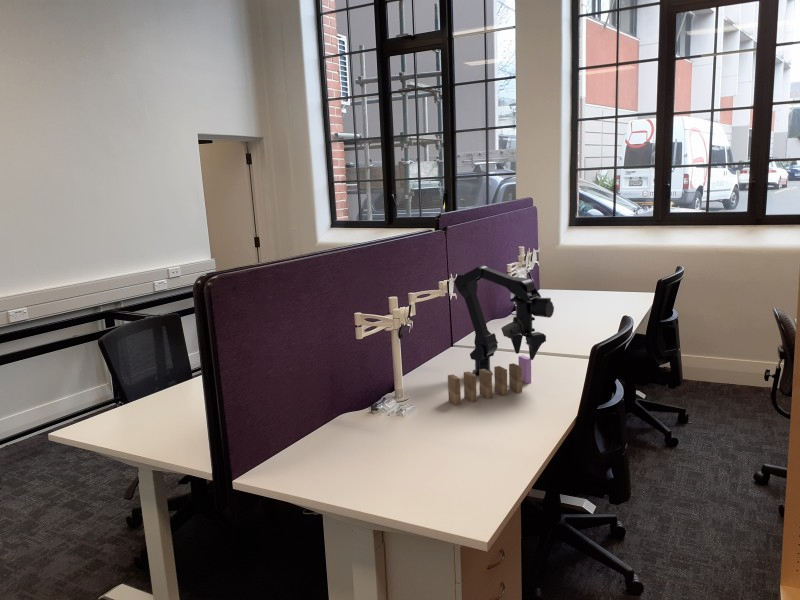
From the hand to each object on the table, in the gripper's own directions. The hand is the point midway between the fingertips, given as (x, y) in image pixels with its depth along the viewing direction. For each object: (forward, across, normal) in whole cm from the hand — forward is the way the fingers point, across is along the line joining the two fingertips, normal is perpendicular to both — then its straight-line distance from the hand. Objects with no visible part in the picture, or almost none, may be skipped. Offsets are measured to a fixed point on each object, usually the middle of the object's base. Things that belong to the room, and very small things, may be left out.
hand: (524, 356), depth 221 cm
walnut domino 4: (+9, +7, -14) cm, 18 cm away
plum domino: (+9, 0, 0) cm, 9 cm away
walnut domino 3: (+9, +7, -20) cm, 23 cm away
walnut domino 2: (+9, +7, -26) cm, 29 cm away
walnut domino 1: (+9, +7, -32) cm, 34 cm away
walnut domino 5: (+9, +7, -8) cm, 14 cm away
